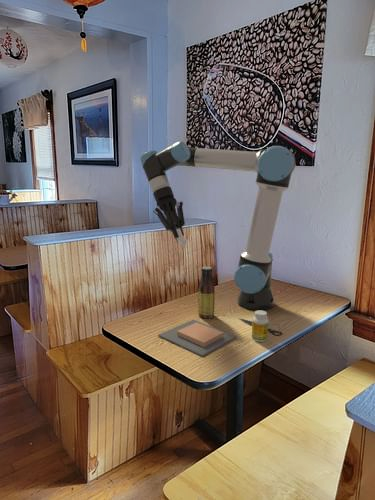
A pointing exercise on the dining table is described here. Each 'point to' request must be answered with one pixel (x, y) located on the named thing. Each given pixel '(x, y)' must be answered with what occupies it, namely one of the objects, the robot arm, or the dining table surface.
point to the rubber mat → (193, 347)
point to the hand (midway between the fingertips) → (182, 244)
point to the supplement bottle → (260, 326)
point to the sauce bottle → (206, 294)
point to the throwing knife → (268, 328)
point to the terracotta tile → (200, 334)
